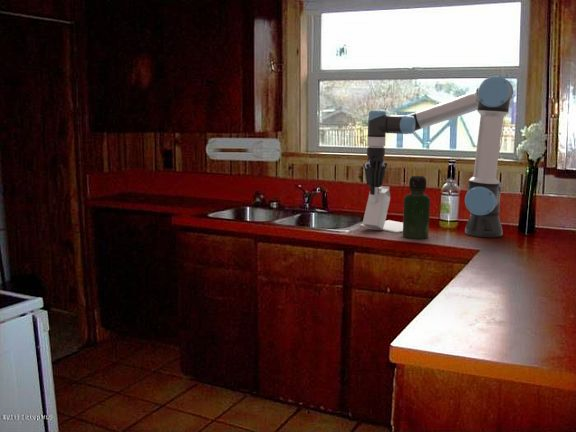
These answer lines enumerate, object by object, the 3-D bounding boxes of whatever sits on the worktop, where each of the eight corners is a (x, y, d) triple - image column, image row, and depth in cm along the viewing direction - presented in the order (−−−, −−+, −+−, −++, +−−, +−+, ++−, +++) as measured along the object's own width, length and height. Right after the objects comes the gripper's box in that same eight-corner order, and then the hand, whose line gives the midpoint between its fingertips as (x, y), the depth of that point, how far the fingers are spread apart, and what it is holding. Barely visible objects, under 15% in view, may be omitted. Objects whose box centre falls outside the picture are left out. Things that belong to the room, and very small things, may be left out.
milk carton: (368, 228, 276) (377, 187, 279) (383, 230, 272) (392, 189, 276) (362, 224, 270) (371, 182, 273) (377, 225, 266) (386, 184, 270)
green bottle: (429, 235, 262) (432, 175, 258) (426, 240, 252) (429, 178, 248) (404, 233, 265) (407, 174, 261) (400, 238, 255) (403, 177, 251)
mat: (426, 228, 278) (426, 226, 278) (397, 233, 266) (397, 231, 266) (388, 221, 295) (388, 220, 295) (359, 225, 283) (359, 224, 283)
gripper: (379, 146, 272) (377, 199, 276) (359, 146, 264) (357, 202, 268) (393, 147, 267) (390, 201, 270) (372, 147, 258) (370, 204, 262)
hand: (373, 202), depth 269 cm, fingers closed
